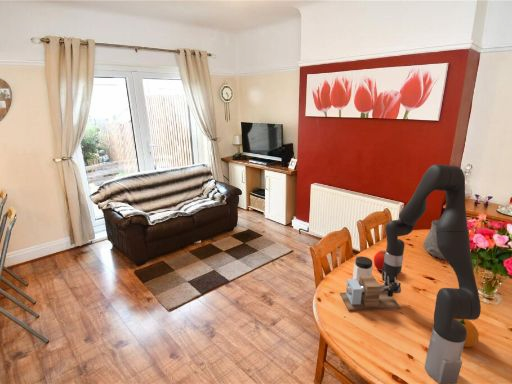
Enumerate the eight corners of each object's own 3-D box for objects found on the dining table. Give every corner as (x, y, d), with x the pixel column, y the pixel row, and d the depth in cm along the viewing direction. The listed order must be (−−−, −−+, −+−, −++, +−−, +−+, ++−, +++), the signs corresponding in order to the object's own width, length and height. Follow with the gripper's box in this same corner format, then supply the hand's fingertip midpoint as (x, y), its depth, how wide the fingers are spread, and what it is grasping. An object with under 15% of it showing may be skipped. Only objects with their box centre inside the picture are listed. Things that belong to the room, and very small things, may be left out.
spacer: (360, 304, 135) (362, 289, 132) (351, 304, 134) (353, 289, 132) (354, 293, 142) (355, 278, 140) (345, 293, 142) (347, 279, 140)
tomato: (390, 265, 169) (393, 248, 166) (394, 275, 160) (397, 257, 156) (371, 263, 172) (373, 246, 169) (373, 272, 162) (376, 255, 159)
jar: (362, 287, 150) (365, 266, 146) (349, 279, 156) (351, 259, 153) (373, 281, 155) (376, 261, 151) (360, 274, 161) (362, 254, 158)
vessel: (411, 251, 185) (416, 221, 179) (433, 243, 195) (438, 215, 189) (446, 267, 167) (453, 235, 161) (468, 258, 177) (475, 227, 171)
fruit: (434, 333, 120) (439, 313, 117) (453, 325, 125) (458, 305, 122) (463, 355, 110) (469, 333, 107) (483, 345, 115) (489, 324, 112)
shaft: (395, 289, 141) (396, 281, 139) (400, 295, 136) (401, 286, 135) (345, 290, 140) (346, 282, 138) (348, 297, 135) (349, 288, 134)
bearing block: (400, 309, 134) (404, 287, 131) (348, 311, 133) (351, 289, 129) (388, 292, 146) (391, 272, 142) (340, 294, 144) (342, 274, 141)
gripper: (409, 269, 127) (403, 303, 132) (393, 253, 140) (388, 284, 145) (392, 270, 126) (387, 304, 132) (378, 253, 140) (373, 285, 145)
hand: (388, 293), depth 138 cm, fingers closed on shaft, 3 cm apart
